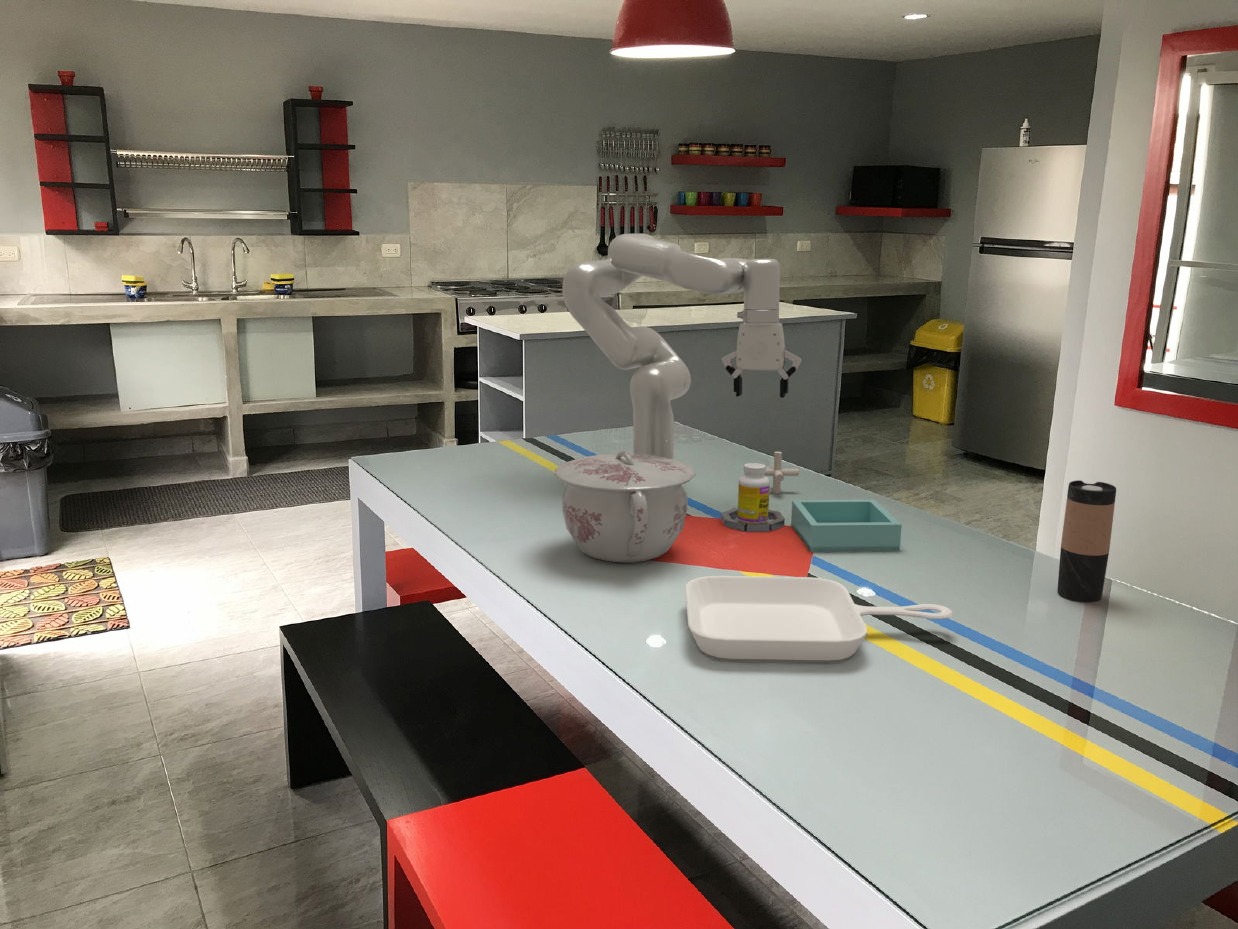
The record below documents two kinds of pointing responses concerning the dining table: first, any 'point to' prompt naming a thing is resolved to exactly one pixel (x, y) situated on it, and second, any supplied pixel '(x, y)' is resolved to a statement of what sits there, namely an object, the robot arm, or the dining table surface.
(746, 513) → the supplement bottle
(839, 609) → the pan
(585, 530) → the chamber pot
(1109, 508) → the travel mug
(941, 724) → the dining table surface
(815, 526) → the bin
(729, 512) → the collar
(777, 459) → the pipe connector
